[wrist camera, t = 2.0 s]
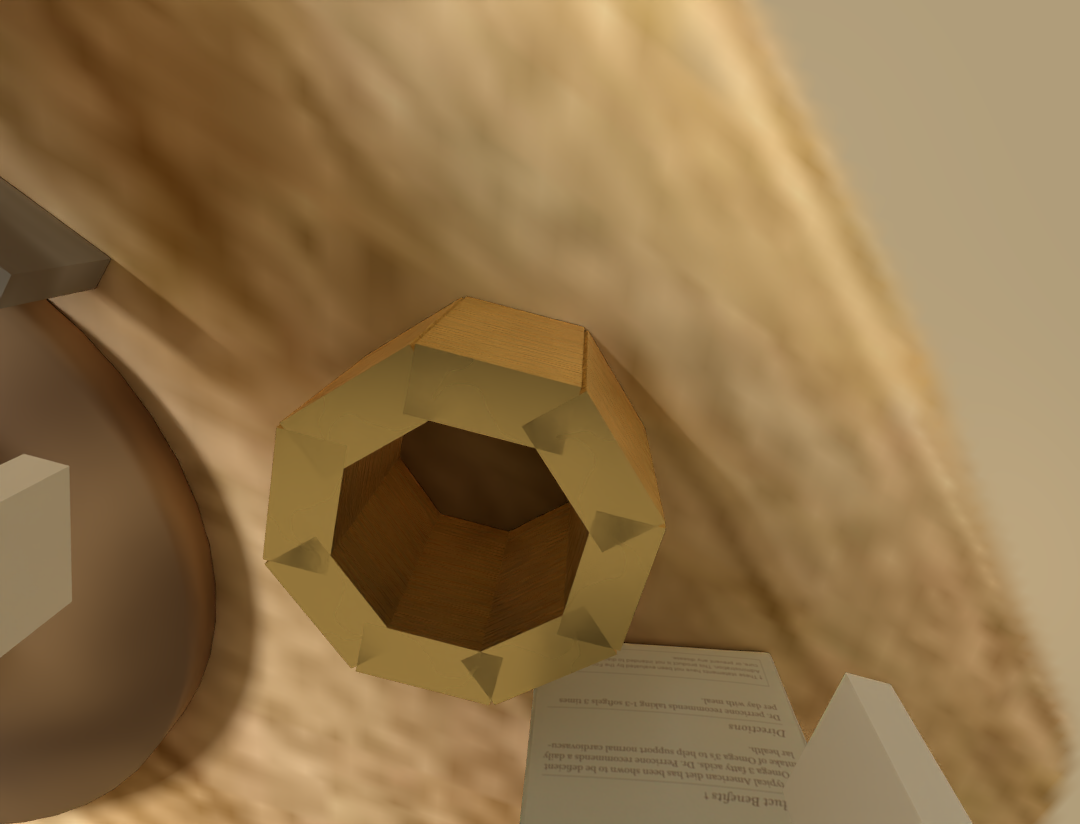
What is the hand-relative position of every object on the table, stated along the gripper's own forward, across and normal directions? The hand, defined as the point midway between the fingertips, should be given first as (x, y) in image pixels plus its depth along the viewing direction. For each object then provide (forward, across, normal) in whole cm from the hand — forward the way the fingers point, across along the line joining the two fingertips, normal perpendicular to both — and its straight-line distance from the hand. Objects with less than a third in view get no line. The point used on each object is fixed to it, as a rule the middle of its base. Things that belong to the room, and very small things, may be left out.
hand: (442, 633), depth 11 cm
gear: (+7, 0, 0) cm, 7 cm away
